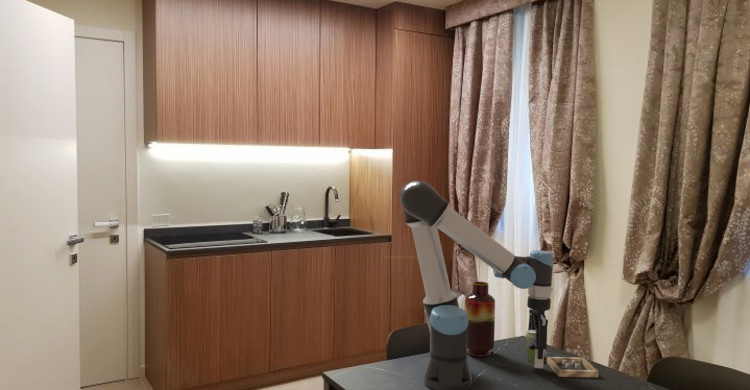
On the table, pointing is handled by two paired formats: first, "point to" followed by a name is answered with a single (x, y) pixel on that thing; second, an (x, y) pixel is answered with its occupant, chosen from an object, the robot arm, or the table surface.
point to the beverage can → (530, 347)
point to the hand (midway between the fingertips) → (535, 363)
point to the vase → (480, 320)
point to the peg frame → (572, 367)
